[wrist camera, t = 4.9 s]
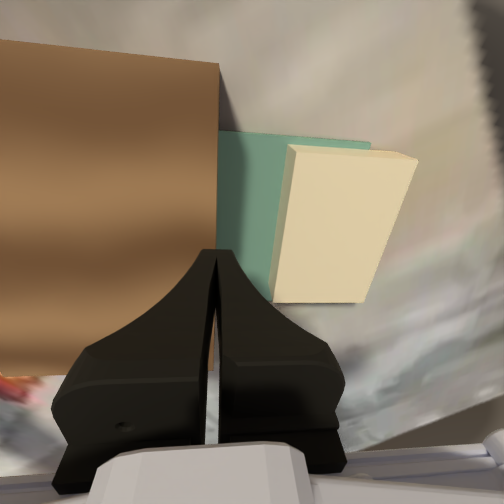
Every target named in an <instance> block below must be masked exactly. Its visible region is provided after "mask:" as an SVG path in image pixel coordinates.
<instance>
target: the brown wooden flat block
mask: <svg viewBox="0 0 504 504" xmlns="http://www.w3.org/2000/svg"><path fill="white" fill-rule="evenodd" d="M219 88H220V68H219V63H210V62H200V61H191V60H182V59H173V58H164V57H155V56H146V55H137V54H128V53H119V52H110V51H101V50H92V49H83V48H74V47H65V46H56V45H47V44H38V43H29V42H20V41H11V40H2V39H0V372H1V374H2V375H3V377H14V376H47V375H67V374H68V372H69V370H70V369H71V367H72V365H73V364H74V362H75V361H76V360H77V358H78V357H79V355H80V354H81V352H82V351H83V349H84V348H85V347H87V346H89V345H91V344H93V343H95V342H97V341H99V340H101V339H103V338H104V337H106V336H108V335H110V334H112V333H114V332H116V331H117V330H119V329H121V328H122V327H124V326H126V325H127V324H129V323H131V322H132V321H134V320H135V319H137V318H138V317H140V316H141V315H142V314H144V313H145V312H146V311H148V310H149V309H150V308H151V307H153V306H154V305H155V304H156V303H158V302H159V301H160V300H161V299H162V298H163V297H164V296H165V295H166V294H167V293H169V292H170V291H171V290H172V288H173V287H174V286H175V285H176V284H177V283H178V282H179V281H180V280H181V278H182V277H183V276H184V275H185V274H186V272H187V271H188V270H189V268H190V267H191V266H192V264H193V263H194V261H195V260H196V258H197V256H198V255H199V253H200V251H201V250H202V249H216V238H217V187H218V136H219ZM214 334H215V315H214V322H213V329H212V336H211V343H210V350H209V361H208V371H213V365H214Z"/></svg>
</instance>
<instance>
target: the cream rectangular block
mask: <svg viewBox="0 0 504 504" xmlns="http://www.w3.org/2000/svg"><path fill="white" fill-rule="evenodd" d="M418 161H419V160H417V159H414V158H411V157H409V156H406V155H403V154H401V153H398V152H393V151H379V150H364V149H350V148H336V147H321V146H307V145H293V144H288V145H287V152H286V159H285V166H284V173H283V180H282V188H281V195H280V202H279V209H278V216H277V224H276V231H275V238H274V245H273V252H272V259H271V267H270V274H269V281H268V284H269V289H270V293H271V297H272V302H273V303H364V300H365V298H366V295H367V292H368V290H369V287H370V285H371V282H372V279H373V277H374V274H375V272H376V269H377V267H378V264H379V261H380V259H381V256H382V254H383V251H384V249H385V246H386V243H387V241H388V238H389V236H390V233H391V231H392V228H393V225H394V223H395V220H396V218H397V215H398V213H399V210H400V207H401V205H402V202H403V200H404V197H405V194H406V192H407V189H408V187H409V184H410V182H411V179H412V176H413V174H414V171H415V169H416V166H417V164H418Z"/></svg>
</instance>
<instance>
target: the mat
mask: <svg viewBox="0 0 504 504" xmlns="http://www.w3.org/2000/svg"><path fill="white" fill-rule="evenodd" d="M288 144H293V145H307V146H321V147H336V148H350V149H364V150H369V149H370V146H371V143H370V142H361V141H348V140H336V139H323V138H311V137H298V136H286V135H273V134H261V133H248V132H236V131H223V130H219V136H218V187H217V238H216V249H228V250H232V251H233V252H234V254H235V257H236V259H237V261H238V263H239V264H240V266H241V268H242V270H243V271H244V273H245V274H246V276H247V277H248V278H249V280H250V281H251V283H252V284H253V285H254V286H255V288H256V289H257V290H258V291H259V292H260V294H261V295H262V296H263V297H264V298H265V299H266V300H267V301H272V297H271V293H270V289H269V284H268V281H269V274H270V267H271V259H272V252H273V245H274V238H275V231H276V224H277V216H278V209H279V202H280V195H281V188H282V180H283V173H284V166H285V159H286V152H287V145H288Z"/></svg>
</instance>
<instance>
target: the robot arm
mask: <svg viewBox="0 0 504 504" xmlns="http://www.w3.org/2000/svg"><path fill="white" fill-rule="evenodd" d="M215 308H216V316H217V328H218V340H219V356H220V369H219V430H218V444H208V445H205V429H206V405H207V382H208V361H209V350H210V343H211V336H212V329H213V322H214V315H215ZM344 387H345V379H344V375H343V373H342V371H341V368H340V366H339V364H338V362H337V360H336V358H335V356H334V354H333V353H332V351H331V349H330V347H329V346H328V344H327V343H326V342H324V341H323V340H321V339H319V338H317V337H316V336H314V335H312V334H310V333H309V332H307V331H305V330H304V329H302V328H301V327H299V326H298V325H296V324H295V323H293V322H292V321H290V320H289V319H288V318H286V317H285V316H284V315H283V314H282V313H280V312H279V311H278V310H277V309H275V308H274V307H273V306H272V305H271V304H270V303H269V302H268V301H267V300H266V299H265V298H264V297H263V296H262V295H261V294H260V292H259V291H258V290H257V289H256V288H255V286H254V285H253V284H252V283H251V281H250V280H249V278H248V277H247V276H246V274H245V273H244V271H243V270H242V268H241V266H240V264H239V263H238V261H237V259H236V257H235V254H234V252H233V251H232V250H228V249H202V250H201V251H200V253H199V255H198V256H197V258H196V260H195V261H194V263H193V264H192V266H191V267H190V268H189V270H188V271H187V272H186V274H185V275H184V276H183V277H182V278H181V280H180V281H179V282H178V283H177V284H176V285H175V286H174V287H173V288H172V290H171V291H170V292H169V293H167V294H166V295H165V296H164V297H163V298H162V299H161V300H160V301H159V302H158V303H156V304H155V305H154V306H153V307H151V308H150V309H149V310H148V311H146V312H145V313H144V314H142V315H141V316H140V317H138V318H137V319H135V320H134V321H132V322H131V323H129V324H127V325H126V326H124V327H122V328H121V329H119V330H117V331H116V332H114V333H112V334H110V335H108V336H106V337H104V338H103V339H101V340H99V341H97V342H95V343H93V344H91V345H89V346H87V347H85V348H84V349H83V351H82V352H81V354H80V355H79V357H78V358H77V360H76V361H75V362H74V364H73V365H72V367H71V369H70V370H69V372H68V374H67V375H66V377H65V379H64V381H63V383H62V385H61V387H60V388H59V390H58V392H57V394H56V396H55V398H54V399H53V402H52V406H51V411H52V414H53V418H54V419H55V421H56V423H57V425H58V427H59V428H60V430H61V432H62V434H63V436H64V437H65V439H66V441H67V443H68V446H67V448H66V451H65V453H64V455H63V458H62V460H61V462H60V464H59V467H58V469H57V471H56V473H52V474H38V475H23V476H9V477H0V504H504V428H502V429H498V430H496V431H494V432H492V433H491V434H489V435H488V436H487V437H486V438H485V439H484V441H483V443H478V444H464V445H450V446H436V447H422V448H407V449H393V450H379V451H364V452H350V453H344V450H343V447H342V444H341V441H340V438H339V435H338V432H337V430H338V429H339V422H338V419H337V416H336V413H335V409H336V407H337V405H338V403H339V400H340V398H341V396H342V394H343V391H344Z"/></svg>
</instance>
